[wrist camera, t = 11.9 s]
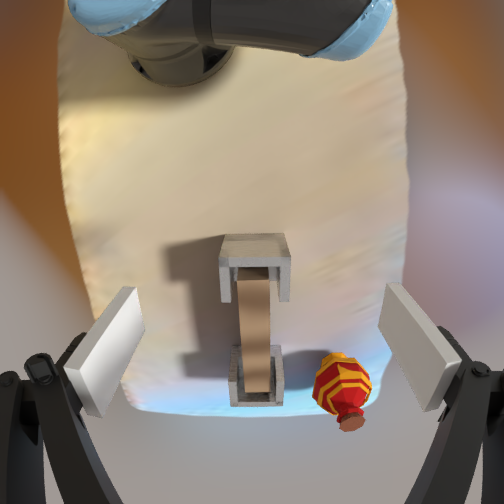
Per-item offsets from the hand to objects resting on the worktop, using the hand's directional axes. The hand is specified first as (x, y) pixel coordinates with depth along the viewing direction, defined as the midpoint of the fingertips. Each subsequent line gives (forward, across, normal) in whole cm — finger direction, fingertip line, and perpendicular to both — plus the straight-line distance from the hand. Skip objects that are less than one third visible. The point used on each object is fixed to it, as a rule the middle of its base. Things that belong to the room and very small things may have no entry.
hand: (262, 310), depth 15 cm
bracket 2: (+29, 0, -28) cm, 40 cm away
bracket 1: (+29, 0, -8) cm, 30 cm away
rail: (+26, 0, -18) cm, 32 cm away
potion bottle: (+29, +14, -30) cm, 44 cm away
